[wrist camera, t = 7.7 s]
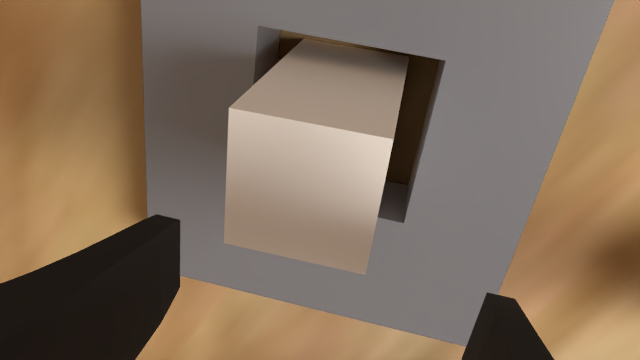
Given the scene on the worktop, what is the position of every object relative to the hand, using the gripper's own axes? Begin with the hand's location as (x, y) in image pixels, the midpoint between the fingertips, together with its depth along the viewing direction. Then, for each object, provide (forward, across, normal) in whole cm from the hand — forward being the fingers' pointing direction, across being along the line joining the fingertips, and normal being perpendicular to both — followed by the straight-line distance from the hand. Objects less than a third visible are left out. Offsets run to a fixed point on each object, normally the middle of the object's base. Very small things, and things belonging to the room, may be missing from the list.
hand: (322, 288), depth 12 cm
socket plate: (+10, +1, -1) cm, 10 cm away
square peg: (+10, +1, -1) cm, 10 cm away
